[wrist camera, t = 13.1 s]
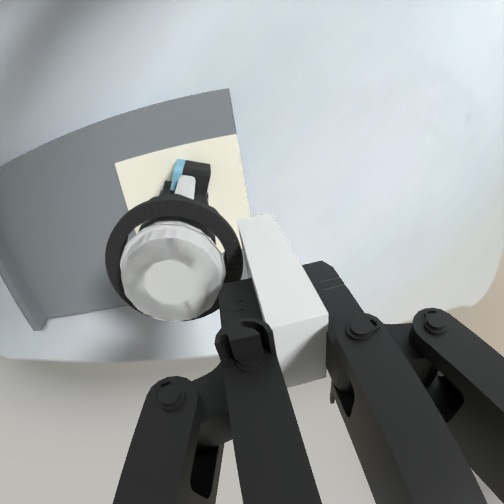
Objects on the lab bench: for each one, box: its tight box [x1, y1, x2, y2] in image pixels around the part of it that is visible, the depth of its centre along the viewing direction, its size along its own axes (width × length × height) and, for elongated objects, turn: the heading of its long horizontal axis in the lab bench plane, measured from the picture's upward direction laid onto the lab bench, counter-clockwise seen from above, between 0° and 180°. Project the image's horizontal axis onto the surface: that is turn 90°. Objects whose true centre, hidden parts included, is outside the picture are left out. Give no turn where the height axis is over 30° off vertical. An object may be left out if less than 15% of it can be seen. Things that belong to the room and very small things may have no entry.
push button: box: [105, 159, 243, 322], centre depth 14 cm, size 7×5×10 cm
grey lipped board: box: [0, 88, 250, 331], centre depth 18 cm, size 14×21×3 cm, turn 99°
